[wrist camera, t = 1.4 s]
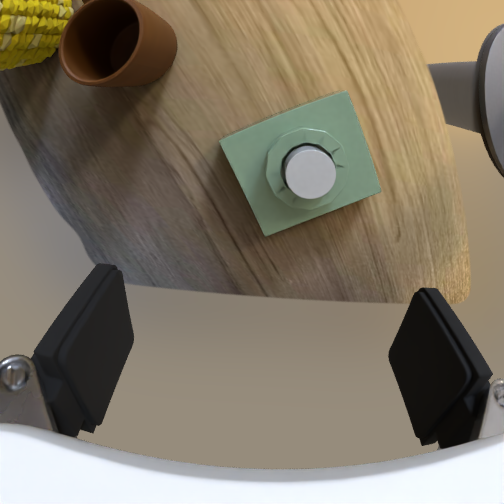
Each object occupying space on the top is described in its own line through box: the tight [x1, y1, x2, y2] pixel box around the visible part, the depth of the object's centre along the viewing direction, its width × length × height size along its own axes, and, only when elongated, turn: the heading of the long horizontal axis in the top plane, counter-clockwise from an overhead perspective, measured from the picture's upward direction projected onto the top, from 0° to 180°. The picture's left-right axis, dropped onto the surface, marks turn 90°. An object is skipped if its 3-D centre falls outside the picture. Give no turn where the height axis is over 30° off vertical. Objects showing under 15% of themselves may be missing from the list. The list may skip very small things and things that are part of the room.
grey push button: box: [284, 146, 336, 199], centre depth 24 cm, size 4×4×2 cm
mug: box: [59, 0, 177, 87], centre depth 19 cm, size 12×8×9 cm, turn 18°
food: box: [0, 0, 74, 71], centre depth 16 cm, size 15×12×10 cm
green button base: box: [219, 91, 381, 237], centre depth 27 cm, size 12×10×5 cm
